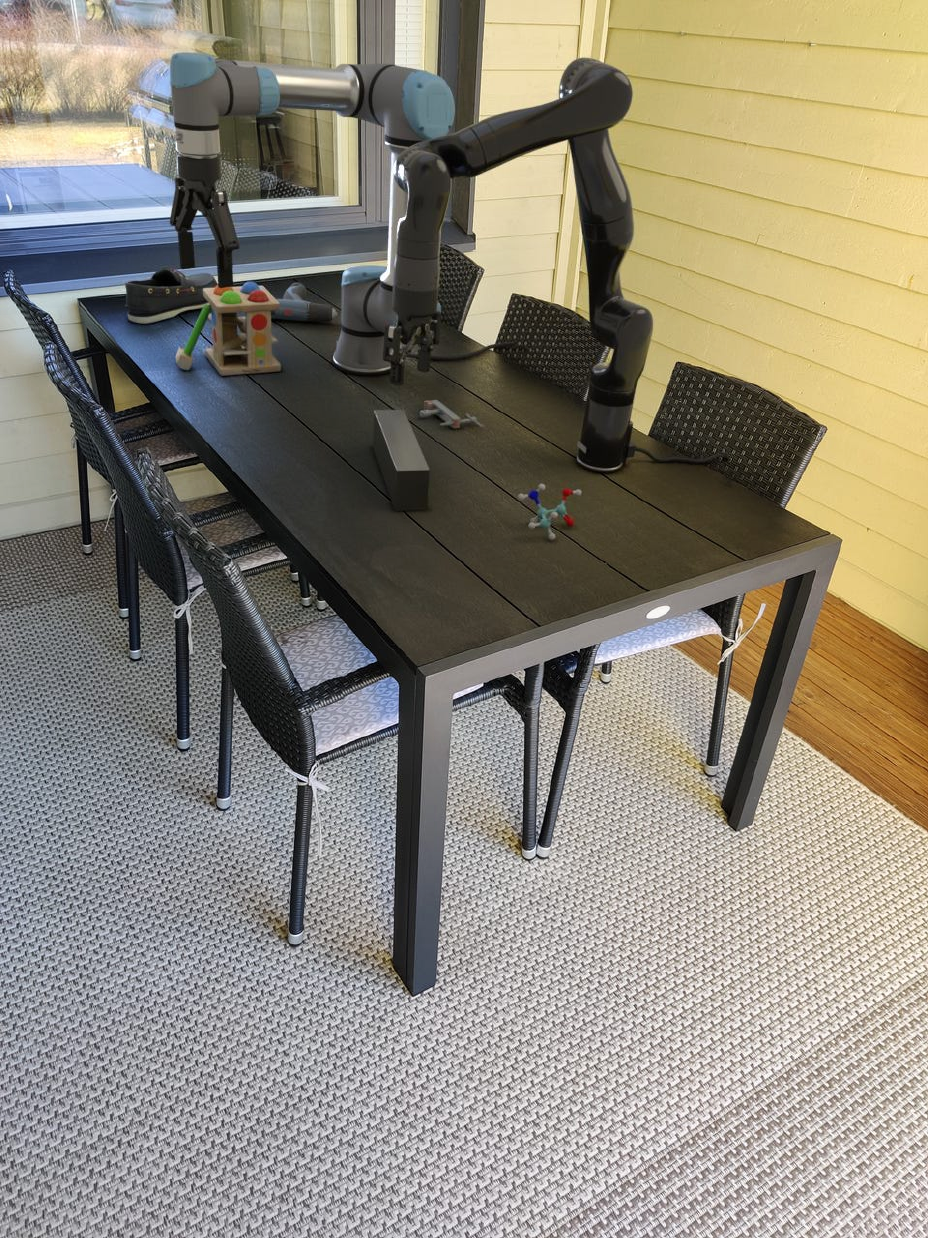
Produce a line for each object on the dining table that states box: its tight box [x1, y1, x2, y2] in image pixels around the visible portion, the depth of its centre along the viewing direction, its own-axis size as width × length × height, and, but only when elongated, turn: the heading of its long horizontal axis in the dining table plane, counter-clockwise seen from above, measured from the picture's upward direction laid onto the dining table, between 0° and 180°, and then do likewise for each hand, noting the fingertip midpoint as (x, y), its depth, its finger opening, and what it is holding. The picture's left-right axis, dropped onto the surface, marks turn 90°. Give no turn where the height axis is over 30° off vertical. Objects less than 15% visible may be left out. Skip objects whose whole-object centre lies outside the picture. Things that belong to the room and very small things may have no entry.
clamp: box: [419, 399, 486, 430], centre depth 213 cm, size 15×2×10 cm
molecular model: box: [517, 483, 582, 541], centre depth 175 cm, size 12×10×10 cm
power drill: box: [271, 282, 338, 322], centre depth 265 cm, size 5×19×20 cm
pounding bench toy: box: [174, 281, 282, 377], centre depth 225 cm, size 23×14×18 cm, turn 116°
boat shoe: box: [124, 266, 218, 324], centre depth 259 cm, size 13×33×10 cm, turn 147°
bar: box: [372, 409, 431, 512], centre depth 187 cm, size 27×6×8 cm, turn 13°
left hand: (206, 277), depth 184 cm, fingers open, 13 cm apart
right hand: (410, 377), depth 170 cm, fingers open, 8 cm apart
